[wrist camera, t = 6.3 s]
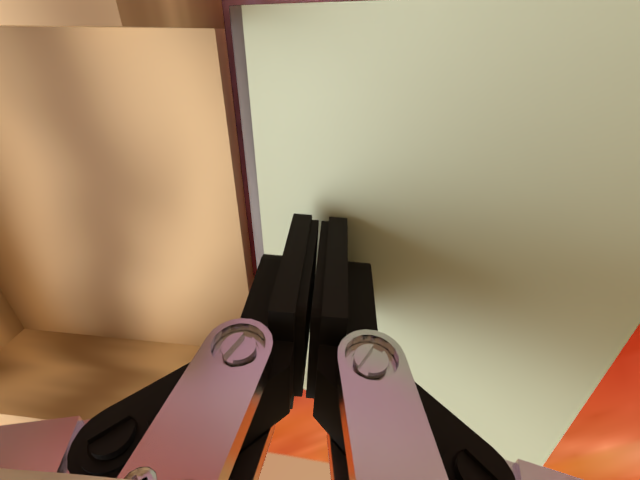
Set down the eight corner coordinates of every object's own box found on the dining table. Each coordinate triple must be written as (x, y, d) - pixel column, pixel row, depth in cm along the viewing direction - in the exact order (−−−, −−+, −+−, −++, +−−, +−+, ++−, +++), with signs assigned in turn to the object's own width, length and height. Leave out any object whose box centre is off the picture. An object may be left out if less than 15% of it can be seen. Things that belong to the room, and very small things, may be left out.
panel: (261, 365, 16) (514, 506, 11) (218, 5, 9) (869, -17, 4) (276, 348, 17) (518, 472, 12) (248, 8, 10) (816, -8, 5)
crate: (28, 329, 19) (-72, 417, 14) (-179, -13, 11) (-533, -42, 7) (262, 352, 17) (228, 456, 13) (219, -14, 10) (103, -49, 5)
